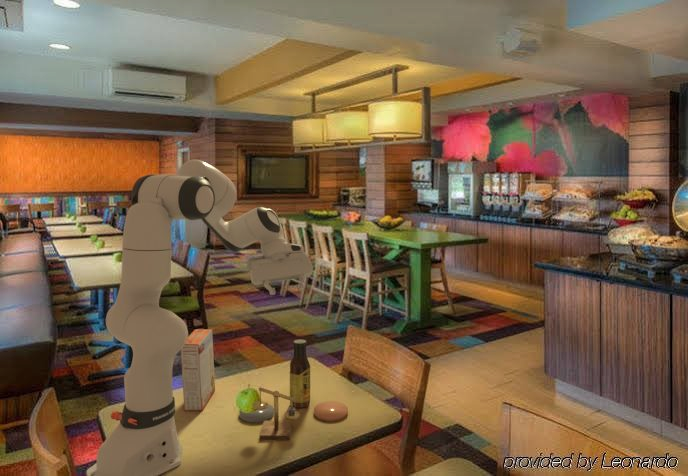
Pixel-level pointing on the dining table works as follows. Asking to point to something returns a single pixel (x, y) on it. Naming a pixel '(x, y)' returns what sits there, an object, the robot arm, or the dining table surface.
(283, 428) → the brass balance
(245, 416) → the slate dish
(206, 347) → the cracker box
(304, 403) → the sauce bottle
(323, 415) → the terracotta dish
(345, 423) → the dining table surface
